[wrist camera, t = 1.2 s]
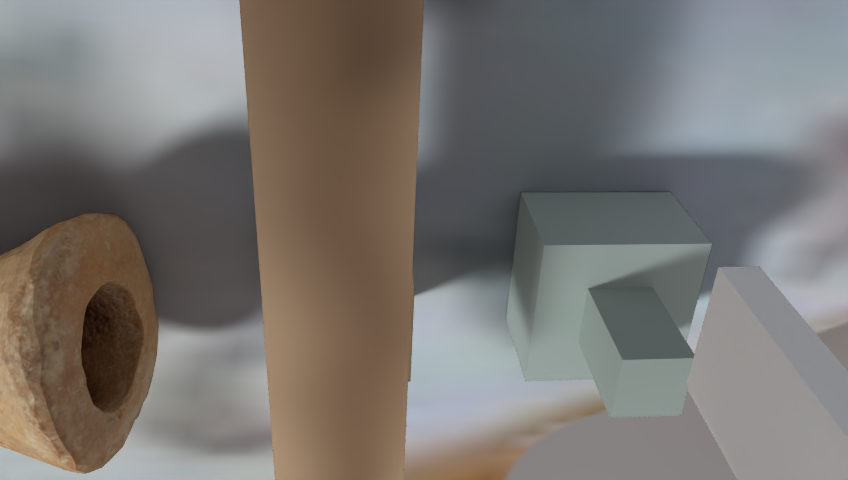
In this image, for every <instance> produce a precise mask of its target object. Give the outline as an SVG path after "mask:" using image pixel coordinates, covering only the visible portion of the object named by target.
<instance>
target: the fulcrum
mask: <svg viewBox="0 0 848 480" xmlns="http://www.w3.org/2000/svg"><path fill="white" fill-rule="evenodd" d="M711 247H712V243H711V241H710V240H709V239H708V238H707V236H706V235H705V234H704V233H703V231H702V230H701V229H700V228H699V226H698V225H697V224H696V223H695V221H694V220H693V219H692V218H691V216H690V215H689V214H688V213H687V211H686V210H685V209H684V208H683V207H682V205H681V204H680V203H679V202H678V200H677V199H676V198H675V197H674V195H673V194H672V193H671V192H526V193H521V197H520V206H519V214H518V223H517V231H516V240H515V248H514V257H513V265H512V274H511V282H510V291H509V299H508V308H507V316H506V320H507V323H508V326H509V330H510V333H511V336H512V339H513V343H514V346H515V349H516V352H517V356H518V359H519V362H520V365H521V369H522V372H523V375H524V378H525V381H546V380H582V379H594V381H595V383H596V386H597V388H598V390H599V393H600V395H601V397H602V400H603V402H604V405H605V407H606V409H607V412H608V414H609V416H610V417H611V418H614V417H641V416H672V415H673V416H675V415H681V412H682V408H683V405H684V401H685V398H686V394H687V390H688V389H687V387H686V383H687V379H688V376H689V372H690V369H691V365H692V361H693V358H694V353H693V352H692V350H691V349H690V347H689V345H688V344H687V342H686V341H687V338H688V334H689V330H690V326H691V322H692V319H693V315H694V311H695V307H696V304H697V300H698V296H699V292H700V289H701V285H702V281H703V277H704V273H705V270H706V266H707V262H708V258H709V255H710V251H711Z"/></svg>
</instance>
